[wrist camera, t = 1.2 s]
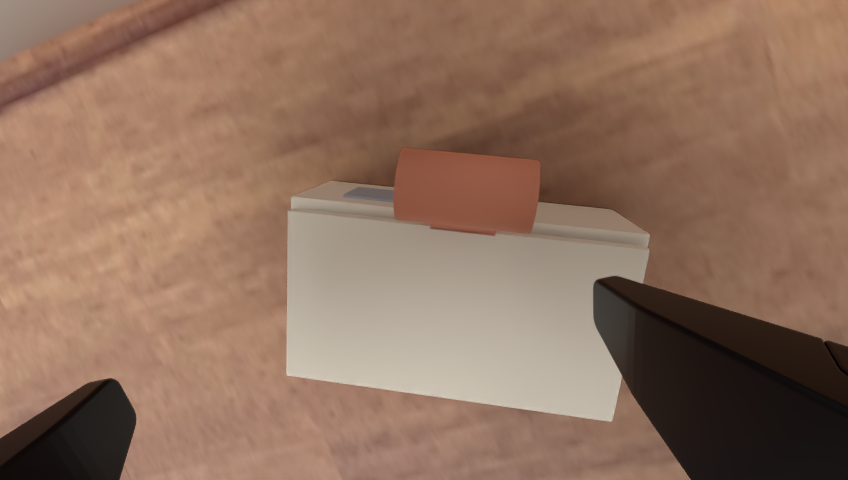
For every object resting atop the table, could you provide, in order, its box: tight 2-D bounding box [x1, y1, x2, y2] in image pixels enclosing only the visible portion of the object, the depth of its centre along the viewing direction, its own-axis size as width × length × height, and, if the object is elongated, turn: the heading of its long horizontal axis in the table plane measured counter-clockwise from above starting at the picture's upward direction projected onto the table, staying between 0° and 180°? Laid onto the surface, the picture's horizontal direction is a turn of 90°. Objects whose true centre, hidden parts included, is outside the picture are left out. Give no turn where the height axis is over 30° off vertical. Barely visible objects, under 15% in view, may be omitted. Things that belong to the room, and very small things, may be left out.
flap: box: [287, 148, 650, 422], centre depth 16 cm, size 13×10×4 cm
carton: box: [291, 181, 650, 248], centre depth 21 cm, size 14×8×5 cm, turn 85°
